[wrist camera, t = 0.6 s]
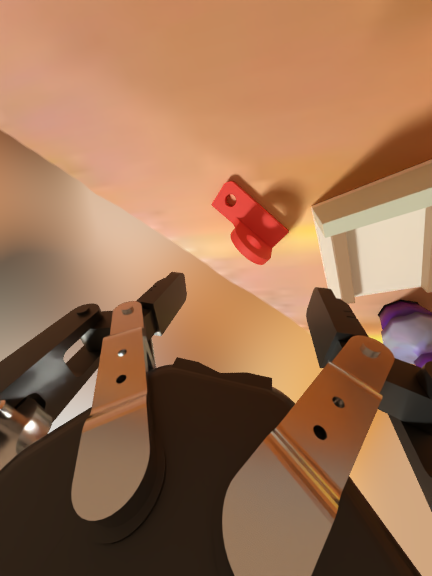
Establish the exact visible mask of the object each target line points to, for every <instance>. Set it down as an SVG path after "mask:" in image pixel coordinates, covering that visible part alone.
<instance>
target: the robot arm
mask: <svg viewBox="0 0 432 576" xmlns="http://www.w3.org/2000/svg"><path fill="white" fill-rule="evenodd" d="M186 295H187V292H186V284H185V277H184V274H183V273H176V272H171V273H170V274H169V275H168V276H167V277H166V278H163V279H162V280H160V281H157V282H156V283H155V284H154V285H153V287H151V288H150V289H149V290H148V291H147V292H145V294H143V295H142V296H141V297H140V298H139V299H138V300H137V301H129V302H125V303H122V304H120V305H118V307H116V308H115V309H114V310H113V311H103V312H101V310H100V308H99V306H98V305H96V304H86V305H82V306H79V307H77V308H75V309H74V310H72V311H71V312H70V313H68V314H66V315H65V316H64V317H62V318H61V319H59V320H58V321H57V322H55V323H54V324H53V325H51V326H50V327H48V328H47V329H46V330H44V331H43V332H42V333H40V334H39V335H37V336H36V337H35V338H33V339H32V340H30V341H29V342H27V343H26V344H25V345H23V346H22V347H20V348H19V349H18V350H16V351H15V352H14V353H12V354H11V355H9V356H8V357H7V358H5V359H4V360H2V361H1V362H0V576H421V574H420V573H419V571H418V570H417V569H416V567H415V566H414V565H413V563H412V562H411V560H410V559H409V558H408V556H407V555H406V554H405V552H404V551H403V550H402V548H401V547H400V545H399V544H398V543H397V541H396V540H395V539H394V537H393V536H392V534H391V533H390V532H389V530H388V529H387V528H386V526H385V525H384V523H383V522H382V521H381V520H380V518H379V517H378V515H377V514H376V512H375V511H374V510H373V508H372V507H371V506H370V504H369V503H368V501H367V500H366V499H365V497H364V496H363V495H362V493H361V492H360V490H359V489H358V488H357V486H356V485H355V484H354V483H353V481H352V479H351V478H350V477H349V474H350V472H351V470H352V467H353V465H354V463H355V460H356V458H357V456H358V453H359V451H360V449H361V446H362V444H363V442H364V439H365V437H366V435H367V433H368V430H369V428H370V425H371V423H372V421H373V419H374V416H375V414H376V412H377V409H379V410H381V411H383V412H385V413H388V415H389V418H390V420H391V422H392V424H393V426H394V429H395V431H396V433H397V435H398V437H399V440H400V442H401V444H402V446H403V448H404V451H405V453H406V455H407V458H408V460H409V462H410V464H411V466H412V469H413V471H414V473H415V475H416V478H417V480H418V482H419V484H420V486H421V489H422V491H423V493H424V495H425V498H426V500H427V502H428V504H429V507H430V509H431V511H432V361H429V362H427V363H426V364H425V365H424V366H423V367H422V368H421V367H418V366H415V365H413V364H410V363H407V362H404V361H401V360H399V359H396V358H394V355H393V353H392V352H391V351H390V349H389V348H387V347H386V346H385V345H384V344H382V343H381V342H379V341H377V340H375V339H373V338H370V337H368V335H367V334H366V332H365V330H364V329H363V327H362V326H361V324H360V322H359V321H358V319H356V316H355V315H354V313H352V312H353V311H352V310H351V308H350V307H349V305H348V304H347V303H345V302H344V301H343V300H341V299H338V298H336V297H335V295H334V293H333V291H332V290H331V289H327V288H318V287H315V288H314V290H313V293H312V296H311V299H310V302H309V305H308V308H307V314H306V317H307V322H308V326H309V330H310V333H311V337H312V340H313V344H314V347H315V352H316V355H317V359H318V363H319V366H320V368H324V369H323V370H322V371H321V372H320V374H319V375H318V376H317V377H316V379H315V380H314V381H313V382H312V384H311V385H310V386H309V387H308V389H307V390H306V391H305V392H304V394H303V395H302V396H301V398H300V399H299V400H298V401H297V403H296V404H295V403H294V402H293V401H292V400H291V399H290V398H289V397H287V396H286V395H285V394H283V393H282V392H281V391H279V390H277V389H276V388H274V387H272V378H269V377H264V376H260V375H255V374H251V373H219V372H217V371H215V370H213V369H211V368H209V367H207V366H205V365H203V364H201V363H199V362H195V361H191V360H186V359H182V358H176V360H175V362H174V364H173V365H165V366H161V367H158V368H156V364H155V357H154V350H153V343H152V339H151V338H152V336H153V335H158V336H162V334H163V333H164V332H165V330H166V328H167V327H168V326H169V324H170V323H171V321H172V320H173V318H174V317H175V315H176V314H177V312H178V311H179V309H180V308H181V307H182V305H183V304H184V302H185V300H186ZM79 339H81V340H82V342H83V344H84V346H83V347H82V348H81V349H80V350H79V351H78V352H77V353H76V354H75V355H74V356H73V357H72V358H71V359H70V360H69V361H68V362H67V363H66V364H65V362H64V360H63V357H64V354H65V352H66V351H67V350H68V349H69V348H70V347H71V346H72V345H73V344H74V343H75V342H76V341H77V340H79ZM97 368H98V374H97V379H96V386H95V392H94V398H93V404H92V407H91V408H89V409H88V410H86V411H84V412H83V413H81V414H79V415H78V416H76V417H75V418H73V419H71V420H70V421H68V422H66V423H65V424H63V425H62V426H60V427H58V428H57V429H55V430H53V431H52V432H50V433H49V434H47V433H48V432H49V430H50V428H51V425H52V422H53V421H54V420H55V419H56V418H57V416H58V415H59V414H60V413H61V412H62V410H63V409H64V408H65V407H66V405H67V404H68V403H69V402H70V401H71V400H72V398H73V397H74V396H75V395H76V394H77V392H78V391H79V390H80V389H81V388H82V386H83V385H84V384H85V383H86V381H87V380H88V379H89V378H90V377H91V376H92V374H93V373H94V372H95V371H96V369H97Z"/></svg>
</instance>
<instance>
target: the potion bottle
mask: <svg viewBox="0 0 432 576" xmlns="http://www.w3.org/2000/svg"><path fill="white" fill-rule="evenodd" d="M378 316H379V317H380V320H381V325H382V329H383V330H382V331H381V334H382V339H383V344H384V345H385V346H386V347H387V348H389V349H390V351H391V352H392V353H393V355H394V358H396V359H399V360H401V361H404V362H407V363H411V364H415V365H416V366H418V367H421V368H422V367H423V366H424V365H425V364H426V363H427V362H429V361H432V312H430V311H428V310H427V309H425V308H423V307H422V306H420V305H419V304H418V302H413V301H406V300H399V301H396V302H393V303H390V304H387V305H384V306H383V308H382V309H381V311H380V312H379V314H378Z"/></svg>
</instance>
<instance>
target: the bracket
mask: <svg viewBox="0 0 432 576" xmlns="http://www.w3.org/2000/svg"><path fill="white" fill-rule="evenodd" d="M229 194H233V195H234V196H235V197H236V204H235V205H234V206H230V205H228V203H227V201H226V198H227V196H228V195H229ZM212 206H213V207H214V208H215V209H217V210H218V211H219V212H220V213H221V214H222V215H224V216H225V217H226V218H227V219H228V220H229V221H231V222H232V223H233V224H234V226H235V229H234V230H233V231H232V233H231V239H232V242H233V244H234V245H235V247H236V248H237V249H238V250H239V252H240V253H241V254H242V255H244V256H245V257H246V258H247V259H249V260H250V261H252V262H253V263H256V264H259V265H263V264H265V263H266V262H267V261H268V260H269V259H270V258H271V252H272V248H273V247H274V246H275V245H276V244H277V243H278V242H279V241H280V240H281V239H282V238H283V237H284V236H285V235H286V234H287V233H289V231H288V230H287V229H286V228H285V227H284V226H283V225H282V224H281V223H280V222H279V221H277V220H276V219H275V218H274V217H273V216H272V215H271V214H270V213H269V212H267V211H266V210H265V209H264V208H263V207H262V206H261V205H260V204H259V203H257V202H256V201H255V200H254V199H253V198H252V197H251V196H250V195H249V194H248V193H246V192H245V191H244V190H243V189H242V188H241V187H240V186H239V185H238V184H236V183H235V182H234V181H229V182H226V183H225V184H224V185H223V187H222V188H221V190H220V192H219V193H218V195H217V196H216V198H215V200H214V201H213V203H212Z"/></svg>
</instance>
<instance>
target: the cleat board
mask: <svg viewBox="0 0 432 576" xmlns="http://www.w3.org/2000/svg"><path fill="white" fill-rule="evenodd" d="M311 209H312V214H313V219H314V224H315V228H316V233H317V238H318V243H319V248H320V253H321V258H322V262H323V267H324V272H325V277H326V282H327V287H328V289H331V290H332V291H333V293H334V295H335V297H336V298H338V299H342V300H343V301H344V302H345V303H347V304H349V303H355V297H356V296H363V295H369V294H376V293H383V292H389V291H396V290H402V289H409V288H416V287H422V288H423V289H424V290H425V291H426V292H427V293H429V292H432V159H431V160H429V161H426V162H423V163H421V164H418V165H416V166H413V167H411V168H408V169H405V170H403V171H400V172H398V173H395V174H393V175H390V176H387V177H385V178H382V179H380V180H377V181H374V182H372V183H369V184H367V185H364V186H362V187H359V188H356V189H354V190H351V191H349V192H346V193H344V194H341V195H338V196H336V197H333V198H331V199H328V200H326V201H323V202H320V203H318V204H315V205H313V206H311Z"/></svg>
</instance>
